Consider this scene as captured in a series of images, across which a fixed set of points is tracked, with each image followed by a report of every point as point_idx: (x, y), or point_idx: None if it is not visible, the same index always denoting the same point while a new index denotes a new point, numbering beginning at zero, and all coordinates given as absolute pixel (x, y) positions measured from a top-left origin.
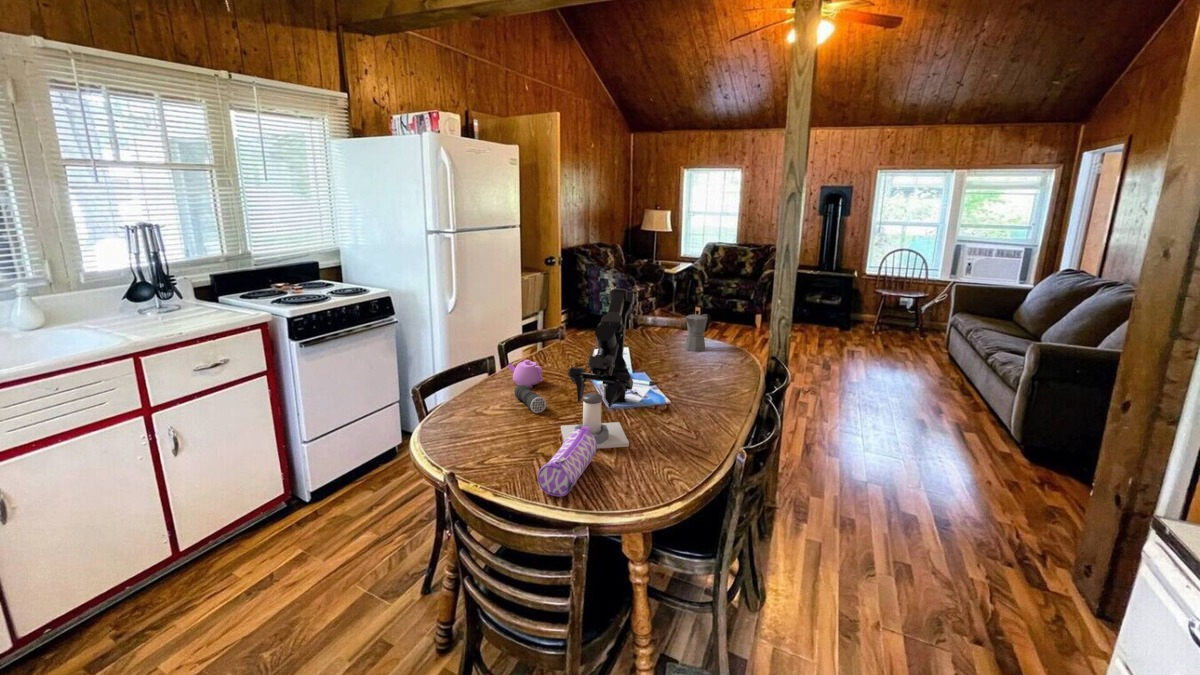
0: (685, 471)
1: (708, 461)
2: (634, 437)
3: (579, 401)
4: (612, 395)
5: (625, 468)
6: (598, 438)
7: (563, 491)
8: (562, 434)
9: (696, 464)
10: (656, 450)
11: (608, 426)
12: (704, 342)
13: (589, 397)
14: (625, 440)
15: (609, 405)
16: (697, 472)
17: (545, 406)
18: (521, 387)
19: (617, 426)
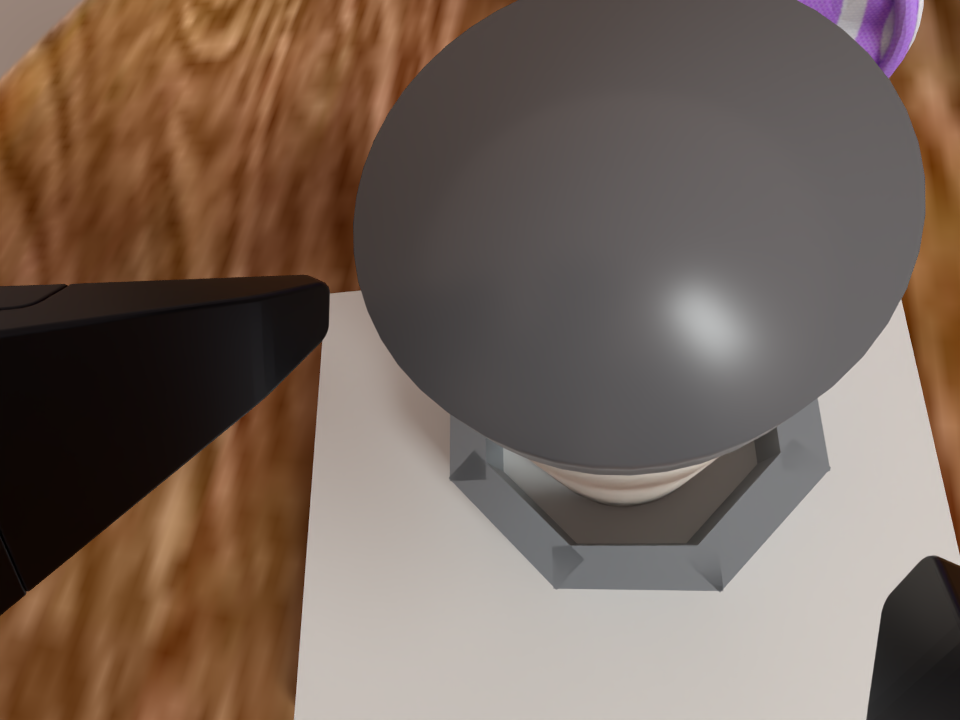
0: (148, 31)
1: (3, 128)
2: (258, 454)
3: (918, 575)
4: (114, 297)
5: (436, 35)
6: None
7: None
8: (949, 550)
9: (68, 97)
10: (190, 246)
11: (419, 645)
12: None
13: (700, 113)
14: (341, 331)
15: (306, 277)
16: (102, 27)
17: None
18: None
19: (334, 628)
